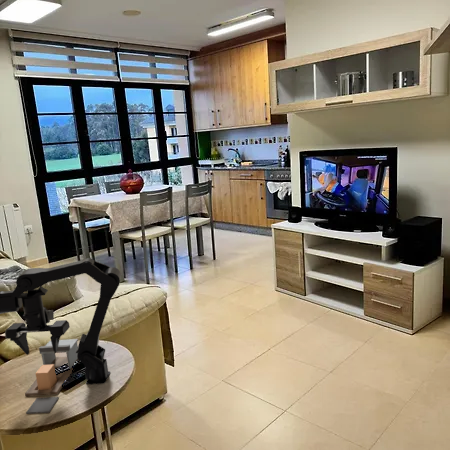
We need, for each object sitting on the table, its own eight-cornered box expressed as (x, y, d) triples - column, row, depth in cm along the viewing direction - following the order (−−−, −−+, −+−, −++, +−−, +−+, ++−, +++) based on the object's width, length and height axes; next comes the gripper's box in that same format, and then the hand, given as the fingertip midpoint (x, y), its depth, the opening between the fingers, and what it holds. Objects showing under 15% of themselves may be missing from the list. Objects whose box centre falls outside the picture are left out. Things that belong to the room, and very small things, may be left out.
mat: (58, 398, 133) (58, 396, 133) (49, 412, 126) (49, 411, 126) (37, 399, 133) (36, 397, 133) (26, 413, 126) (26, 412, 126)
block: (57, 381, 142) (53, 364, 141) (50, 390, 137) (47, 372, 136) (45, 382, 142) (42, 364, 141) (38, 391, 138) (35, 373, 136)
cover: (80, 356, 156) (77, 334, 154) (72, 368, 148) (68, 346, 146) (52, 357, 156) (49, 336, 154) (42, 370, 148) (38, 348, 146)
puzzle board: (81, 358, 156) (81, 355, 156) (57, 394, 135) (56, 391, 135) (53, 359, 157) (53, 357, 157) (25, 396, 135) (24, 393, 135)
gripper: (72, 297, 142) (79, 339, 145) (17, 300, 142) (25, 342, 146) (58, 310, 131) (66, 356, 134) (-1, 314, 131) (9, 360, 135)
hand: (42, 353), depth 137 cm, fingers open, 9 cm apart
